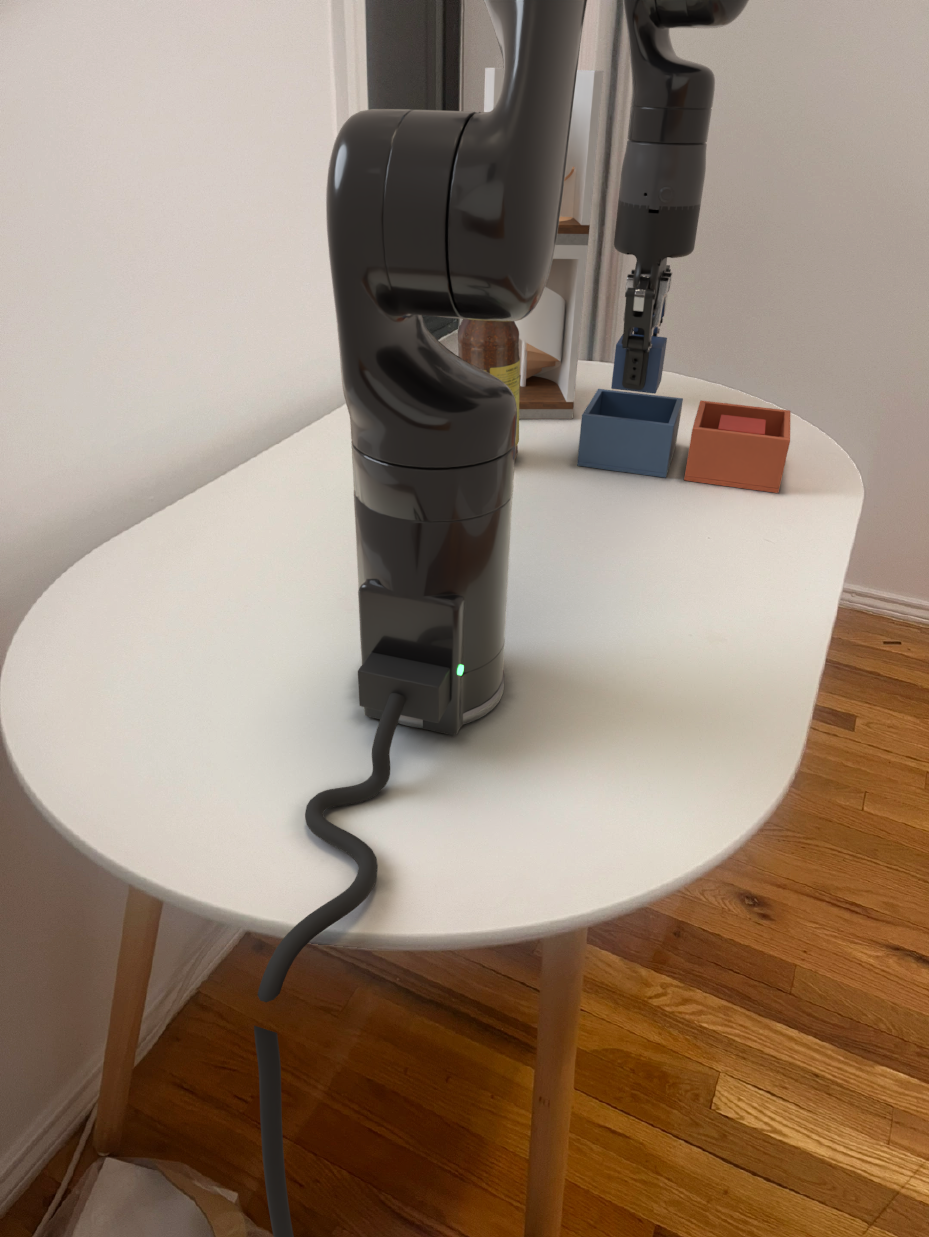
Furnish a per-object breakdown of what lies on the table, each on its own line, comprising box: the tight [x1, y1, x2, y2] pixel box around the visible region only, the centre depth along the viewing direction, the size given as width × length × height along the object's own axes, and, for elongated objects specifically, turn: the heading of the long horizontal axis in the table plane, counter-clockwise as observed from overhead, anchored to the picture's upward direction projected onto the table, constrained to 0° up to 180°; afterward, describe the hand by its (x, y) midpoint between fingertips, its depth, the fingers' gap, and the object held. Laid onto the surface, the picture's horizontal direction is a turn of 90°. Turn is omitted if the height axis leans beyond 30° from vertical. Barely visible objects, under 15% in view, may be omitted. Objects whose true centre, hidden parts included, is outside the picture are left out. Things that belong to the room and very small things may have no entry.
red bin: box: [683, 400, 791, 494], centre depth 90 cm, size 9×9×6 cm
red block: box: [718, 415, 766, 435], centre depth 90 cm, size 4×4×4 cm
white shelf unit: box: [483, 67, 605, 420], centre depth 99 cm, size 11×11×35 cm
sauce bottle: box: [457, 319, 520, 460], centre depth 88 cm, size 6×6×20 cm
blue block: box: [610, 334, 668, 395], centre depth 89 cm, size 4×4×4 cm
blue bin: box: [576, 388, 684, 479], centre depth 93 cm, size 9×9×6 cm
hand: (636, 380), depth 90 cm, fingers closed on blue block, 4 cm apart
